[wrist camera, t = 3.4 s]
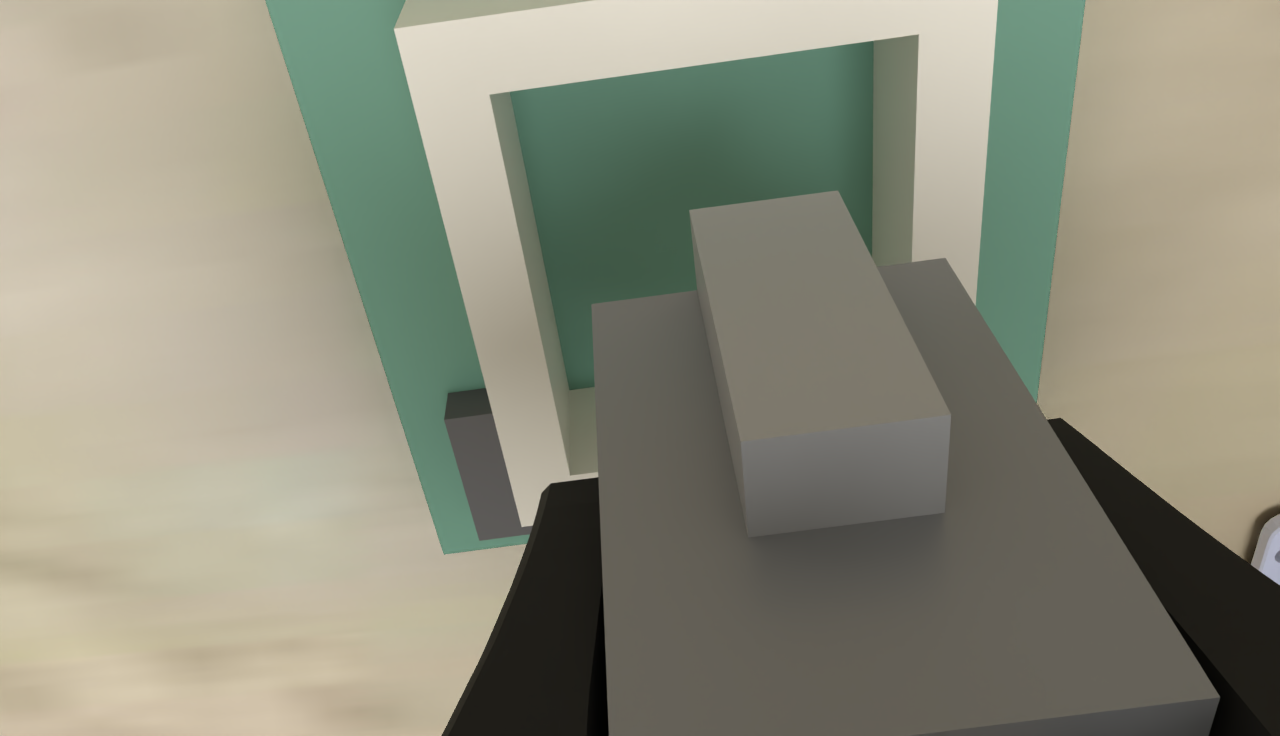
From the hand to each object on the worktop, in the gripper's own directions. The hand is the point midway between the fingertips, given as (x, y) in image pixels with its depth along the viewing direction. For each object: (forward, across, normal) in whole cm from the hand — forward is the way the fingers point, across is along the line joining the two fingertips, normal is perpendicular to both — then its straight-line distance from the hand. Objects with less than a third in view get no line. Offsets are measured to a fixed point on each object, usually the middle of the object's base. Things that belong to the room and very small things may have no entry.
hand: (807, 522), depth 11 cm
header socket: (+8, 0, 0) cm, 8 cm away
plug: (+2, 0, 0) cm, 2 cm away
